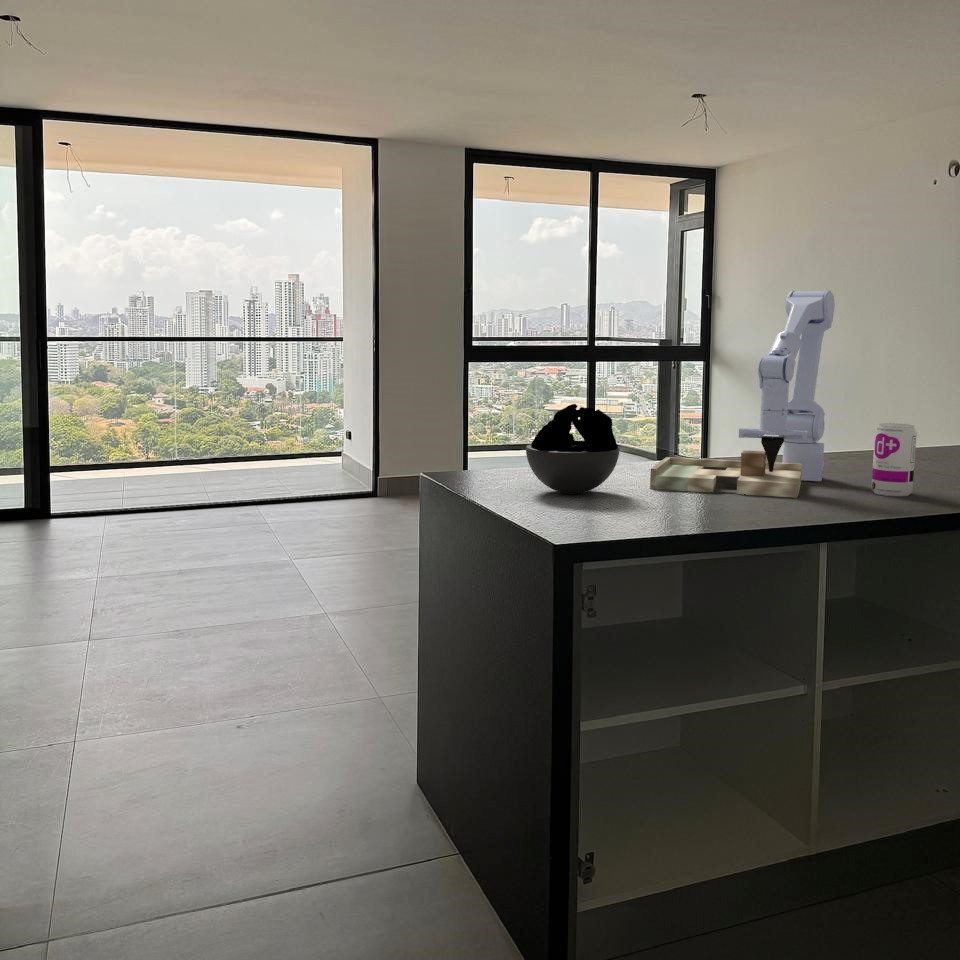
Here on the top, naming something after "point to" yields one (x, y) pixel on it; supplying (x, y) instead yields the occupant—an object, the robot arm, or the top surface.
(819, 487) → the top surface
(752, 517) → the top surface
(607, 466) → the bowl of black rocks
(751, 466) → the walnut block
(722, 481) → the wooden tray
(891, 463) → the supplement can
